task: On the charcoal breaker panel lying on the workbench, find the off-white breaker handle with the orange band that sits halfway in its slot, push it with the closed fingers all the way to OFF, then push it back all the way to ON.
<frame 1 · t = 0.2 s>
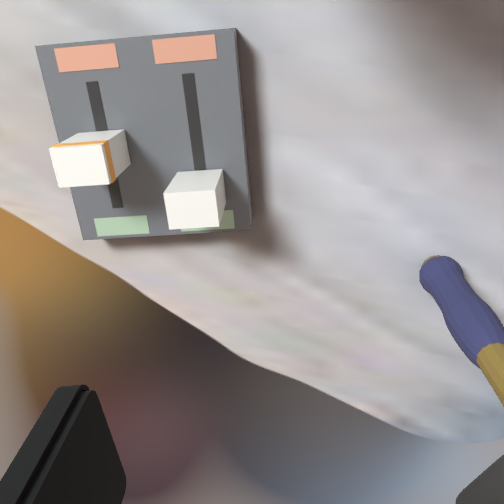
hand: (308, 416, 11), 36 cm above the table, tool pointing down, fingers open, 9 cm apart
rubber mallet: (434, 266, 49), on the table
tripped breaker: (93, 157, 39), point 6 cm above the table, slide at 4.0 cm
breaker panel: (158, 137, 44), on the table
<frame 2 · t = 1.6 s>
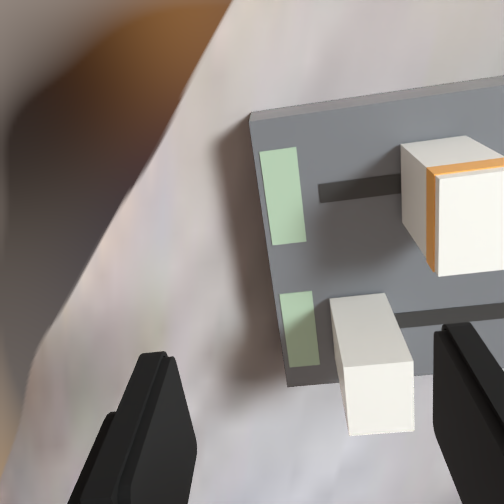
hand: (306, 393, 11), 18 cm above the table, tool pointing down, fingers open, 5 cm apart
tripped breaker: (453, 200, 21), point 6 cm above the table, slide at 4.0 cm
breaker panel: (415, 231, 28), on the table
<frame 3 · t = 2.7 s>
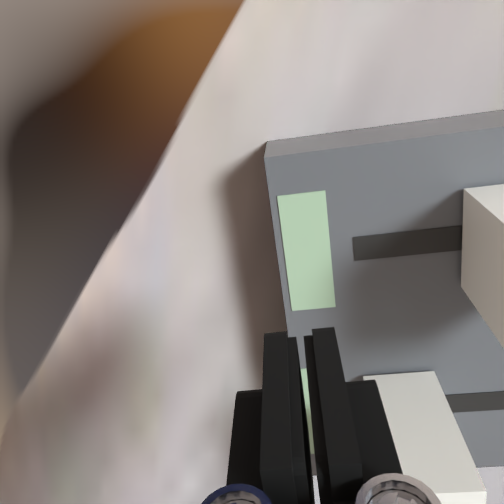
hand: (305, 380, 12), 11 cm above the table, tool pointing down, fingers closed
breaker panel: (470, 288, 22), on the table
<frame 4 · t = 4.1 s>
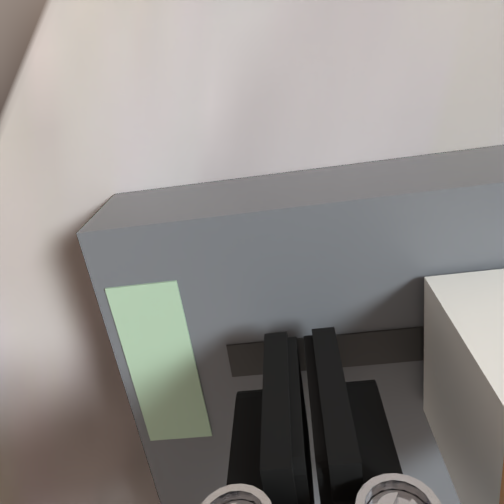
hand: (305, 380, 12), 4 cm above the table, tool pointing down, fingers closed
breaker panel: (413, 386, 17), on the table
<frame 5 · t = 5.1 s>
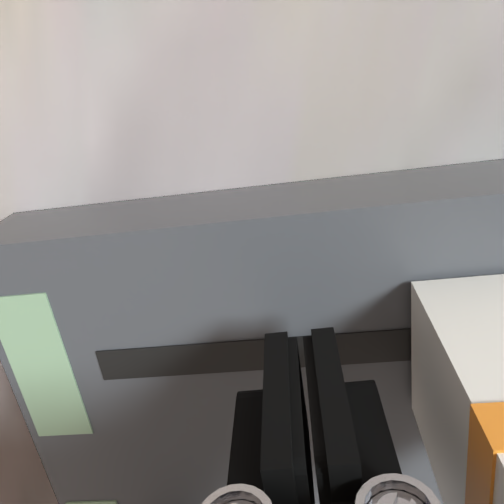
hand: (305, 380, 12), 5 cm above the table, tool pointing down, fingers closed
breaker panel: (299, 394, 18), on the table
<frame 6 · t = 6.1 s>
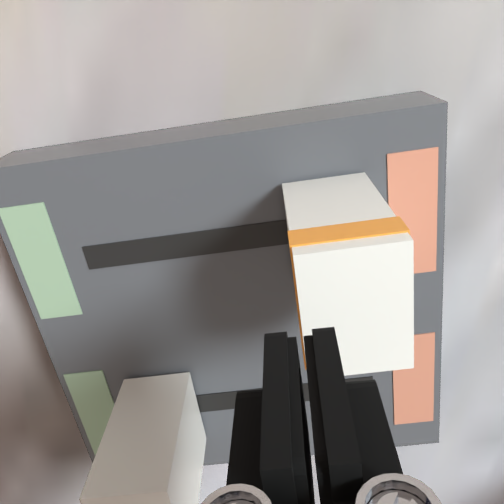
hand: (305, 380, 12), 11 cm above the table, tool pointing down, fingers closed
tripped breaker: (339, 264, 16), point 6 cm above the table, slide at -0.1 cm
breaker panel: (240, 289, 23), on the table
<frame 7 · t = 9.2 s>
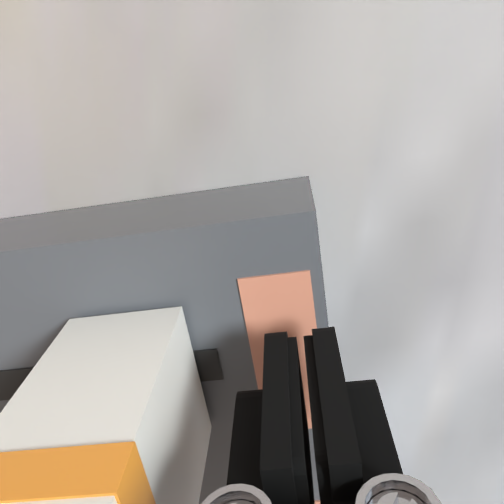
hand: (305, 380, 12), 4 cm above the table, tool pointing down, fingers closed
tripped breaker: (108, 464, 10), point 6 cm above the table, slide at 0.6 cm, touching gripper
breaker panel: (104, 414, 18), on the table
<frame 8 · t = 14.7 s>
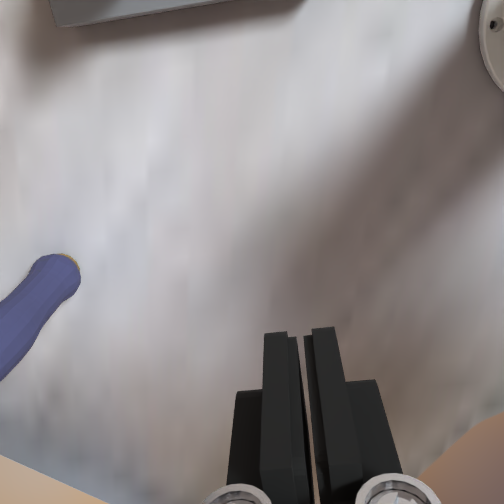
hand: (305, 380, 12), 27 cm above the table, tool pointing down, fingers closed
rubber mallet: (64, 267, 42), on the table
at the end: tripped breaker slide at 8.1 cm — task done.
